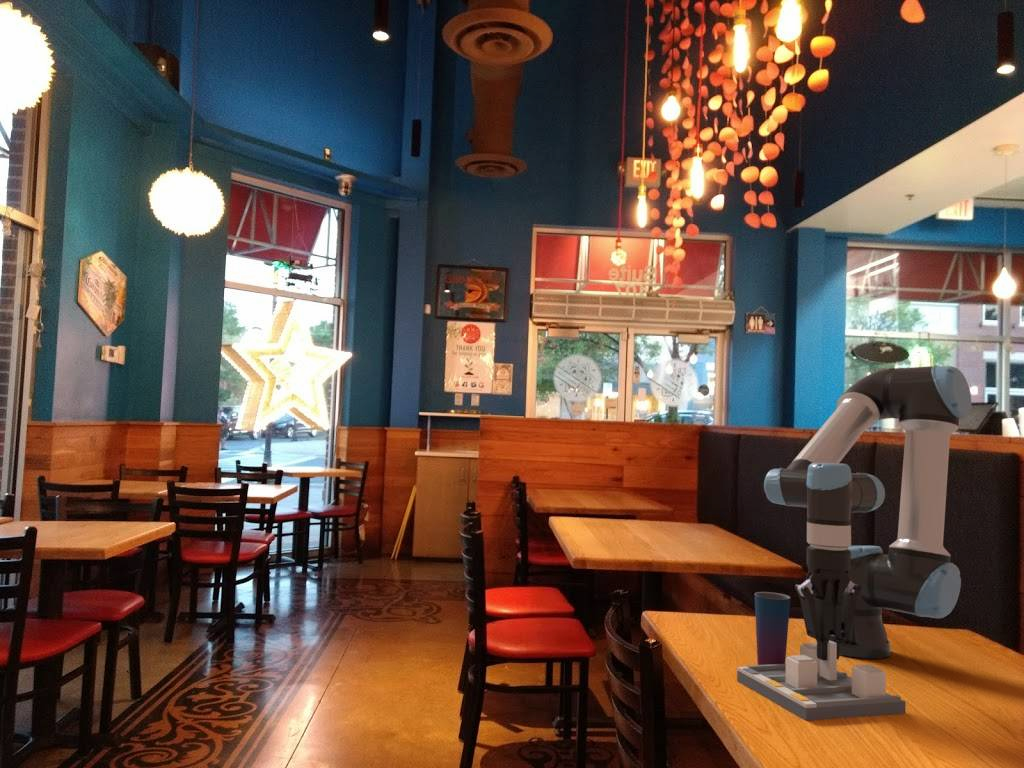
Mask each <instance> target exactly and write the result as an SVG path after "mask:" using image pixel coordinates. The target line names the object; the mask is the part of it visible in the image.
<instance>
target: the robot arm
mask: <svg viewBox="0 0 1024 768" xmlns="http://www.w3.org/2000/svg"><path fill="white" fill-rule="evenodd" d="M971 412H972V396H971V390H970V387H969V384H968V381H967V379H966V377H965V375H964V373H963V372H962V371H961V370H960V369H959V368H957V367H955V366H951V365H950V366H949V365H943V366H942V365H941V366H940V365H939V366H938V365H932V366H919V367H918V366H915V367H899V368H898V367H897V368H894V367H893V368H892V367H891V368H883V369H880V370H878V371H874V372H872V373H870V374H868V375H866V376H865V377H863V378H861V379H859V380H858V381H857V382H855V383H853V384H852V385H851V386H849V388H848V389H847V390H846V391H845V392H844V393H843V394H842V395H841V396H840V397H839V399H838V400H837V403H836V409H835V411H833V413H832V414H831V415H830V416H829V417H828V418H827V420H826V421H825V422H824V423H823V425H822V426H820V427H819V429H818V431H816V433H815V434H814V436H813V437H812V438H811V439H809V442H808V443H806V444H805V446H804V447H803V448H802V450H800V452H799V453H798V454H797V456H796V457H795V458H794V459H793V460H792V462H791V463H790V464H789V465H788V466H787V468H783V467H779V468H772V469H770V470H769V471H768V472H767V473H766V475H765V478H764V482H763V490H764V493H765V496H766V499H767V500H768V502H769V501H770V502H771V503H773V504H777V505H783V506H786V507H797V508H799V507H800V508H806V509H807V510H806V511H807V515H806V516H807V517H806V542H807V543H808V544H809V545H808V546H807V547H806V566H807V568H808V571H807V575H806V577H805V578H806V579H805V581H803V583H801V584H799V583H797V584H795V586H794V590H795V592H796V593H797V595H798V597H799V601H800V607H801V610H802V611H801V612H802V617H803V621H804V622H803V623H804V627H805V631H806V635H807V636H808V637H810V638H812V639H815V641H816V643H817V658H819V659H820V676H822V677H824V678H826V679H828V680H837V671H838V670H837V669H838V668H837V667H838V666H837V665H838V664H837V663H838V662H837V661H839V659H840V656H845V657H850V658H851V657H852V658H858V659H871V660H872V659H885V658H888V657H890V656H891V643H890V641H889V638H888V634H887V630H886V628H885V624H884V621H883V619H882V617H883V616H882V609H885V610H890V611H895V612H900V613H904V614H905V613H906V614H909V615H914V616H917V617H920V618H925V617H926V618H932V619H943V618H944V617H945V618H946V617H947V616H948V615H949V614H950V613H951V612H952V611H953V610H954V608H955V606H956V604H957V602H958V599H959V596H960V592H961V585H962V577H961V571H960V569H959V567H958V566H957V565H956V564H954V563H953V562H951V558H952V557H951V554H950V552H949V551H948V550H946V549H945V547H944V535H945V533H944V532H945V518H946V517H945V516H946V504H947V503H946V502H947V490H948V489H947V486H948V472H949V471H948V470H949V457H950V442H951V438H950V437H951V435H952V434H954V433H955V432H956V431H958V430H959V428H960V427H959V424H960V423H959V422H960V420H961V421H962V420H965V419H967V418H969V416H970V413H971ZM887 419H898V425H899V426H900V428H901V429H902V430H903V431H904V432H905V436H904V447H903V449H904V450H903V461H902V462H903V463H902V475H901V488H900V499H899V501H900V503H899V515H898V516H899V517H898V526H897V528H898V530H897V539H896V540H895V541H893V543H891V544H890V545H889V546H888V554H884V553H883V552H884V551H883V549H882V547H881V546H879V545H878V546H877V545H852V522H851V519H852V517H851V516H852V513H862V514H866V513H869V512H872V511H874V510H877V509H879V507H881V505H883V503H884V500H885V498H886V491H885V490H886V489H885V487H884V484H883V483H882V481H881V480H880V479H879V478H878V477H876V476H875V475H872V474H869V473H865V472H856V473H853V472H852V471H851V467H850V465H848V464H847V463H840V462H841V461H842V460H843V459H844V458H845V456H846V455H847V454H848V453H849V451H850V450H851V449H852V447H853V446H854V445H855V444H856V442H857V441H859V438H860V437H861V436H862V434H863V433H864V432H866V431H865V430H867V429H870V428H872V427H875V426H876V424H877V423H878V422H879V421H881V420H887Z"/></svg>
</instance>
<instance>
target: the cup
mask: <svg viewBox="0 0 1024 768" xmlns="http://www.w3.org/2000/svg"><path fill="white" fill-rule="evenodd" d="M790 607H791V596H790V595H787V594H784V593H780V592H779V593H778V592H769V591H757V592H754V610H755V611H754V612H755V633H756V634H755V635H756V656H757V657H756V658H757V661H756V662H757V665H768V664H786V657H787V643H788V636H789V635H788V633H789V619H790Z"/></svg>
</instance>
